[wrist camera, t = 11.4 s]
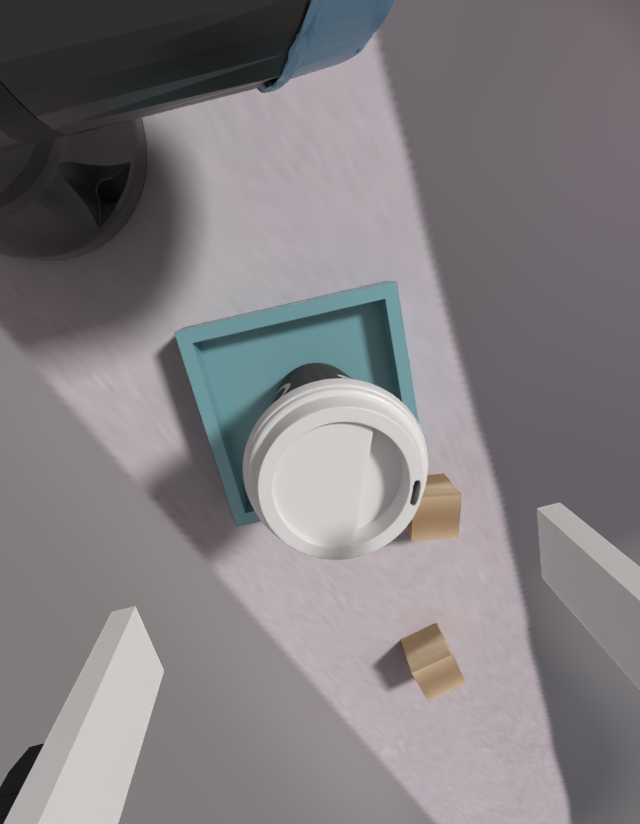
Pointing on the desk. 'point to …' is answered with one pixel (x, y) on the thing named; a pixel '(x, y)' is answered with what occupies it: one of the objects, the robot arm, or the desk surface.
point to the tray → (288, 365)
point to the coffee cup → (335, 464)
